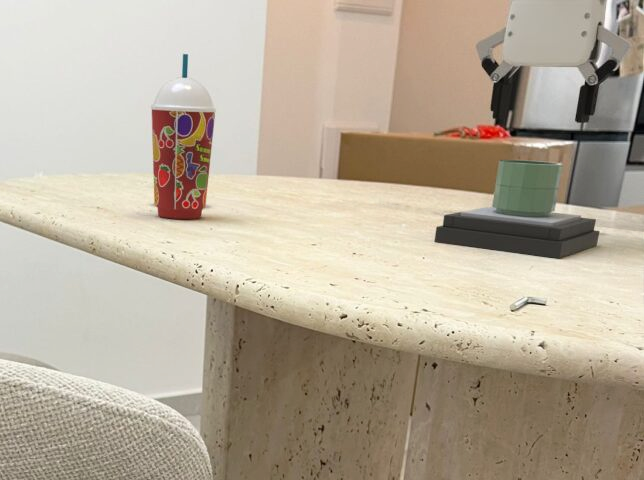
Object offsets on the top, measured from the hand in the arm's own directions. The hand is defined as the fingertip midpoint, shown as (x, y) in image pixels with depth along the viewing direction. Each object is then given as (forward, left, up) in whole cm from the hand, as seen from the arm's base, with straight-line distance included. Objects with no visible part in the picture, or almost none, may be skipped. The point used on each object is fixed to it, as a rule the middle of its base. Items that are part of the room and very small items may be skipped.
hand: (539, 120), depth 111 cm
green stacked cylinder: (0, 0, -11) cm, 11 cm away
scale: (0, 0, -14) cm, 14 cm away
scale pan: (0, 0, -12) cm, 12 cm away
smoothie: (+16, -40, -15) cm, 46 cm away
